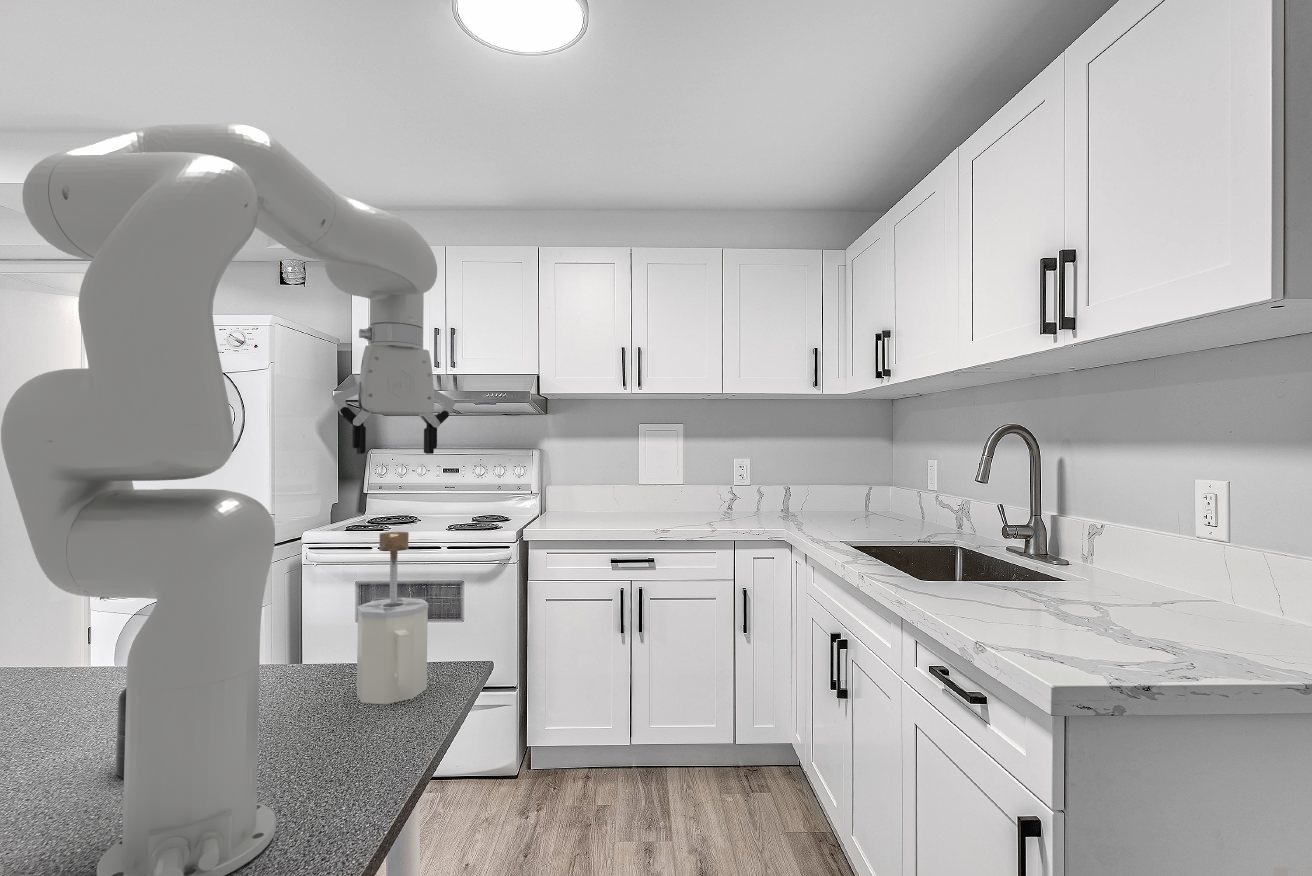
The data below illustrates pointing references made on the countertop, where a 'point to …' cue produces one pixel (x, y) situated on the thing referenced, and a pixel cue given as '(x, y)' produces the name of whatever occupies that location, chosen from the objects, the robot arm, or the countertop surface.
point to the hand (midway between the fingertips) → (395, 453)
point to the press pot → (392, 650)
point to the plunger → (393, 557)
